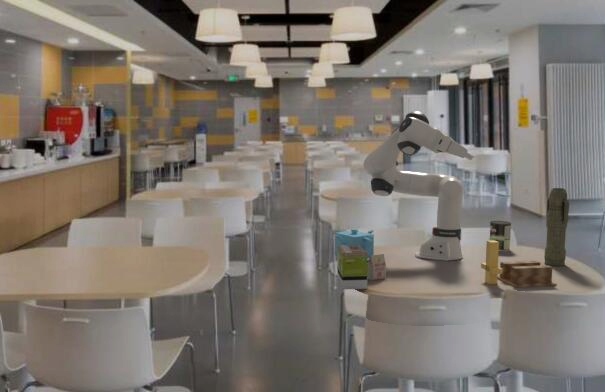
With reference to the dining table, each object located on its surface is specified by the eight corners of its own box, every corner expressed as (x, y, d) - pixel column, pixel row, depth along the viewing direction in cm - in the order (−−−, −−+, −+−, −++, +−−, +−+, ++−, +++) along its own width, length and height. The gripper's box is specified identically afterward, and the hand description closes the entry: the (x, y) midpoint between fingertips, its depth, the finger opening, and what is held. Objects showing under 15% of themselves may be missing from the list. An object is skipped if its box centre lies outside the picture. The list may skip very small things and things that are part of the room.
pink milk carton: (366, 278, 252) (367, 254, 250) (380, 276, 255) (381, 253, 253) (371, 280, 248) (372, 256, 247) (385, 278, 251) (386, 254, 250)
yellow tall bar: (493, 286, 240) (495, 244, 238) (480, 279, 250) (482, 239, 248) (501, 286, 240) (503, 243, 238) (488, 279, 251) (490, 238, 249)
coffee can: (494, 251, 307) (495, 224, 306) (485, 247, 317) (486, 220, 316) (513, 251, 308) (514, 223, 307) (504, 247, 319) (505, 220, 317)
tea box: (336, 280, 249) (337, 244, 247) (360, 279, 249) (361, 244, 248) (342, 289, 234) (342, 252, 232) (367, 289, 235) (368, 251, 233)
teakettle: (373, 265, 276) (373, 233, 274) (331, 263, 278) (332, 231, 276) (373, 256, 294) (374, 226, 293) (335, 254, 297) (335, 225, 295)
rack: (515, 287, 239) (515, 269, 238) (495, 277, 254) (495, 261, 253) (556, 285, 242) (557, 268, 241) (534, 275, 257) (535, 259, 257)
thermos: (558, 268, 272) (563, 190, 268) (537, 262, 282) (541, 187, 278) (572, 266, 276) (576, 189, 272) (550, 260, 286) (554, 186, 282)
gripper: (426, 146, 253) (454, 160, 256) (442, 151, 233) (473, 167, 236) (433, 132, 252) (461, 147, 255) (450, 136, 232) (480, 152, 235)
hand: (467, 156), depth 245 cm, fingers open, 8 cm apart
